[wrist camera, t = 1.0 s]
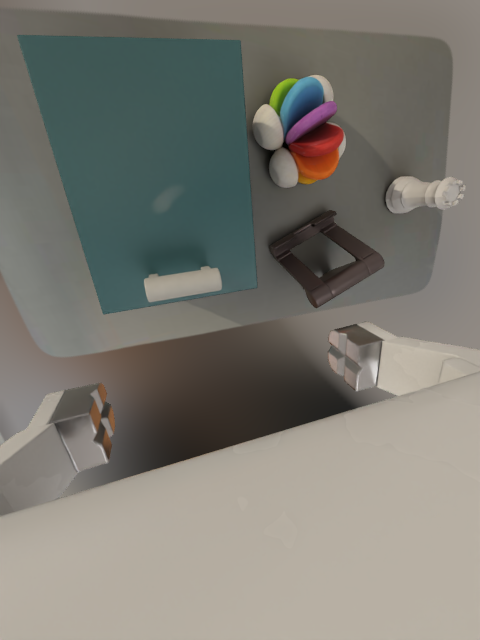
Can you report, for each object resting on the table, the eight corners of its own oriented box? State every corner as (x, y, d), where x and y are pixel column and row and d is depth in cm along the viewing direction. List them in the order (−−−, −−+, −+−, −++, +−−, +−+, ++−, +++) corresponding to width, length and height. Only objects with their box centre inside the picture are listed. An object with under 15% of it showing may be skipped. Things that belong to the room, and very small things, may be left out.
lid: (254, 285, 25) (275, 302, 21) (104, 311, 22) (92, 336, 18) (237, 45, 18) (262, -3, 14) (22, 41, 16) (-28, -19, 12)
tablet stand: (327, 209, 35) (373, 210, 28) (344, 263, 39) (389, 277, 31) (267, 245, 35) (297, 255, 27) (290, 296, 38) (323, 318, 31)
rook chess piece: (383, 217, 38) (437, 220, 31) (382, 181, 36) (439, 175, 29) (411, 208, 38) (470, 208, 31) (412, 172, 36) (474, 164, 29)
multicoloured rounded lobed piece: (276, 201, 33) (306, 200, 27) (238, 110, 29) (263, 82, 22) (336, 164, 33) (380, 155, 27) (308, 69, 29) (352, 30, 23)
